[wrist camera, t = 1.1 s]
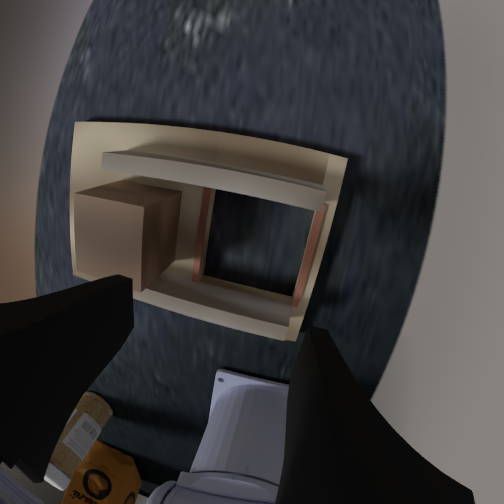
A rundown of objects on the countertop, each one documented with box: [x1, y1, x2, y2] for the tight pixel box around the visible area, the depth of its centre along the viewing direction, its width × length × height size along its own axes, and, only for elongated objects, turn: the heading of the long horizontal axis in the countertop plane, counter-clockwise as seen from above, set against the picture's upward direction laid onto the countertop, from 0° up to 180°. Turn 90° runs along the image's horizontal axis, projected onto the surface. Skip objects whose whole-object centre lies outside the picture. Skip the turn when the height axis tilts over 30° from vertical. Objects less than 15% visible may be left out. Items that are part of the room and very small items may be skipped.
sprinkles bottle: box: [44, 392, 113, 491], centre depth 22 cm, size 5×5×14 cm
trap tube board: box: [70, 122, 348, 341], centre depth 17 cm, size 12×18×4 cm, turn 79°
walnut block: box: [74, 180, 182, 293], centre depth 15 cm, size 4×4×4 cm
